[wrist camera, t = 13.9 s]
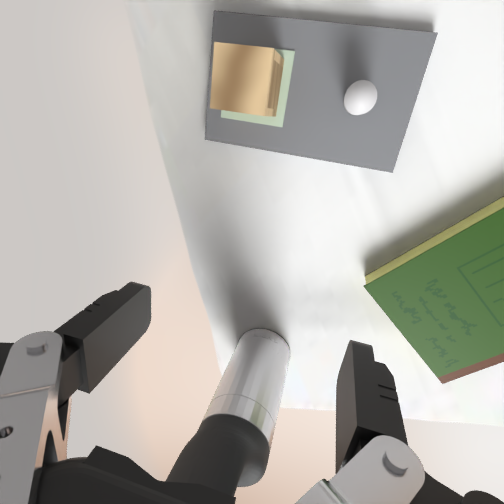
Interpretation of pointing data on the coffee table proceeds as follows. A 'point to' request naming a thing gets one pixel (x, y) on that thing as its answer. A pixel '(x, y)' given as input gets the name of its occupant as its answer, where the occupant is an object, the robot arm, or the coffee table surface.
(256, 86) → the cardboard box
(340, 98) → the post board
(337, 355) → the coffee table surface
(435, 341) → the hardcover book
